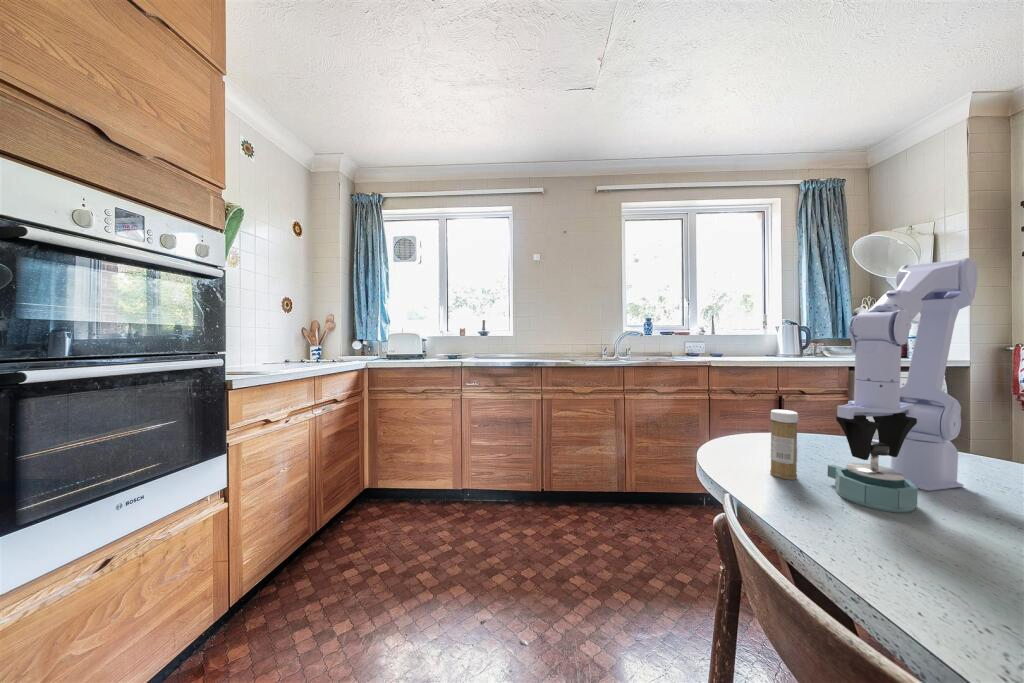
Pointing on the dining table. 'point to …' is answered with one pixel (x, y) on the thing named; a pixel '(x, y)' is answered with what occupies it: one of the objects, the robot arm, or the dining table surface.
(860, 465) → the doorknob
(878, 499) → the teal tabbed tray
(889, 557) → the dining table surface
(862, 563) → the dining table surface
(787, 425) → the sprinkles bottle
